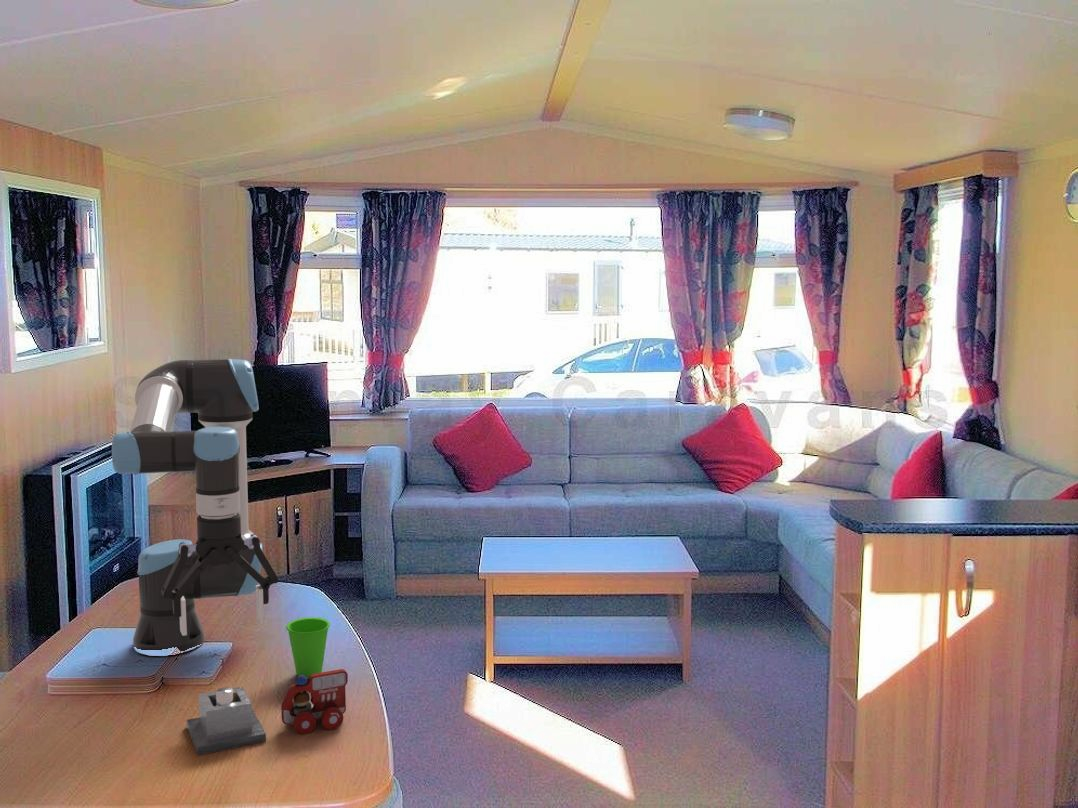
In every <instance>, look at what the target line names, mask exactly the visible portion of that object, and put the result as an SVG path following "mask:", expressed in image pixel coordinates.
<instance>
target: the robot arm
mask: <svg viewBox="0 0 1078 808" xmlns="http://www.w3.org/2000/svg"><path fill="white" fill-rule="evenodd" d="M257 393H258V392H257V387H256V382H255V374H254V370H253V366H252V364H251V362H250V361H248V360H246V359H236V358H235V359H234V358H217V359H216V358H215V359H178V360H173V361H169V362H167V363H164V364H162V365H160V366H157V367H156V368H154V369H152V370H151V371H150V372H149V373H147V374H146V375H145V376H144V377H143V378H142V379H141V380H140V382H139V383H138V384H137V387H136V390H135V393H134V401H135V405H136V409H135V412H134V415H133V418H132V423H131V425H130V430H129V431H126V432H119V433H116V434H115V435H114V436H113V437H112V442H111V461H112V467H113V470H114V472H116V473H117V474H121V475H122V474H123V475H124V474H131V475H132V474H133V475H139V474H157V473H160V474H161V473H175V472H183V473H184V472H194V473H195V498H196V499H195V504H196V508H195V509H196V514H197V515H198V516H197V517H196V529H197V530H196V531H197V533H196V534H197V535H196V536H197V537H196V538H197V539H196V542H195V543H193V542H192V540H189V539H182V538H181V539H180V538H179V539H171V540H166V541H160V542H158V543H154V544H153V545H150V546H148V547H146V548H144V549H143V550H142V551H141V552H140V553H139V555H138V560H137V561H138V564H137V565H138V568H137V572H136V573H137V575H138V587H139V589H138V591H139V612H140V613H139V617H138V620H137V624H136V628H135V631H134V635H133V638H132V645H134V647H136V648H137V649H141V650H162V649H168V648H172V647H174V648H175V647H177V648H178V649H179V650H180V651H185V650H187V649H189V648H192V647H195V646H197V645H200V644H202V643H203V644H204V643H205V631H204V628H203V626H202V623H201V620H200V618H199V615H198V613H197V610H196V605H195V604H196V603H195V600H196V599H197V600H198V599H209V598H210V599H211V598H227V597H235V598H236V597H237V598H238V597H239V596H247V595H252V594H254V593H255V613H256V617H255V619H256V621H257V622H258V623H259V624H260V625H261V624H265V621H264V620H265V613H264V605H268V604H269V601H270V600H269V598H270V597H269V595H270V594H269V593H270V592H269V589H270V587H271V585H274V584H278V583H279V581H280V580H279V577H278V576H277V574H276V572H275V571H274V569H273V567H272V565H271V564H270V562H269V560H268V559H267V557H266V555H265V554H264V552H263V546H264V545H263V543H262V542H261V541H260V538H259V537H258V536H257V535H256V534H255V533H254V532H252V530H250V527H249V498H248V496H249V495H248V489H249V488H248V467H247V466H248V457H247V455H248V453H247V426H248V425H249V424H250V422H252V421H253V418H254V417H253V412H255V413H256V412H258V411H259V409H260V408H259V400H258V394H257ZM181 413H182V414H183V413H189V414H190V413H197V419H198V420H197V421H198V422H199V423H200V424H201V425H202V426H204V427H202V428H200V429H198V430H182V431H178V430H177V431H173V429H174V423H175V418H176V414H181ZM260 542H261V543H260ZM262 568H263V570H264V572H265V573H266V575H267V576H266V577H264V576H263V575H262V574H261V572H262V571H261V569H262ZM203 644H202V645H203Z"/></svg>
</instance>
